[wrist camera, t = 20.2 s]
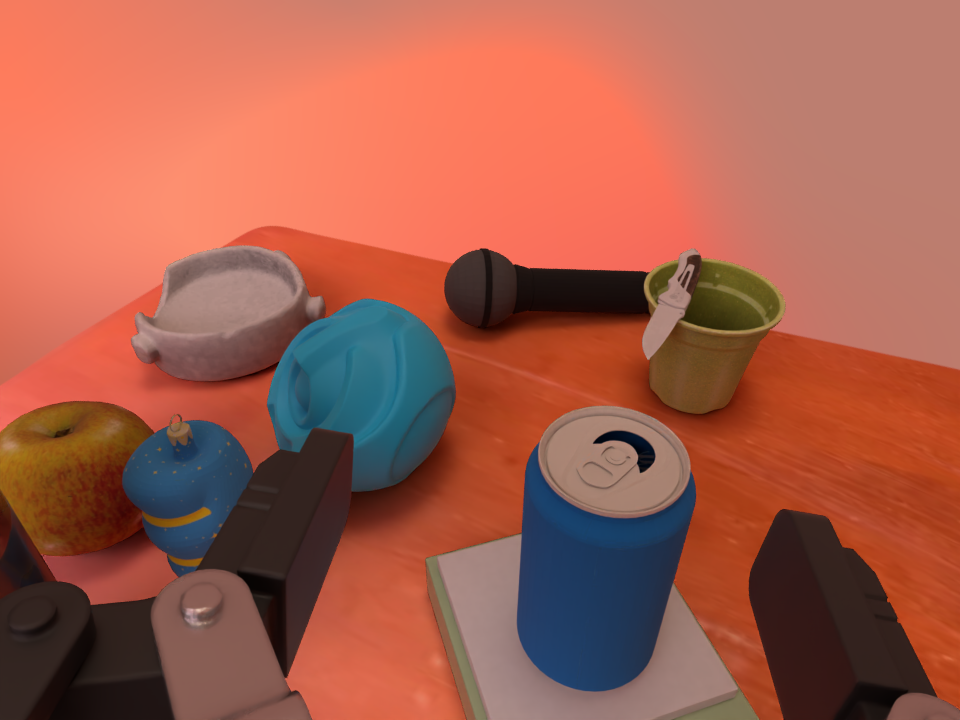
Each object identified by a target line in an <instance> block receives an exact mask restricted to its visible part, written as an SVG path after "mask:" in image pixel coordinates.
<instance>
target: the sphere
mask: <svg viewBox="0 0 960 720" xmlns="http://www.w3.org/2000/svg"><path fill="white" fill-rule="evenodd" d="M455 398H456V388H455V381H454V376H453V371H452V368H451V365H450V362H449V359H448V357H447V354H446V352H445V350H444V348H443V346H442V345H441V343H440V341H439V340H438V338H437V337H436V336H435V334H434V333H433V332H432V331H431V330H430V329H429V328H428V326H427V325H426V324H425V323H423V322H422V321H421V320H420V319H419V318H417V317H416V316H415V315H413V314H412V313H410V312H409V311H407V310H405V309H403V308H401V307H399V306H396V305H394V304H391V303H388V302H385V301H380V300H374V299H361V300H358V301H356V302H353V303H351V304H349V305H347V306H345V307H343V308H342V309H340V310H339V311H337V312H335V313H334V314H333V315H331V316H330V317H328V318H323V319H319V320H317V321H315V322H313V323H311V324H310V325H308V326H307V327H305V328H304V329H303V330H301V331H300V332H299V333H298V334H297V335H296V337H295V338H294V339H293V340H292V342H291V343H290V345H289V346H288V348H287V349H286V351H285V352H284V354H283V356H282V358H281V360H280V362H279V364H278V366H277V368H276V371H275V374H274V376H273V379H272V383H271V387H270V391H269V395H268V401H267V407H268V411H269V414H270V417H271V420H272V423H273V427H274V431H275V435H276V439H277V443H278V446H279V449H281V450H287V451H293V452H300V450H301V448H302V446H303V444H304V443H305V441H306V439H307V437H308V435H309V433H310V431H311V430H312V429H313V428H321V429H327V430H332V431H338V432H344V433H350V434H353V437H354V449H353V469H352V489H351V491H353V492H363V491H373V490H378V489H383V488H386V487H390V486H393V485H395V484H398V483H399V482H401V481H403V480H404V479H405V478H407V477H408V476H409V475H410V474H411V473H412V472H413V471H414V470H415V469H416V468H417V467H418V466H419V465H420V464H421V463H422V462H423V461H424V460H425V459H426V458H427V457H428V456H429V455H430V453H431V452H432V451H433V449H434V448H435V447H436V445H437V443H438V442H439V440H440V438H441V436H442V434H443V432H444V430H445V428H446V425H447V422H448V419H449V417H450V415H451V412H452V409H453V406H454V403H455Z"/></svg>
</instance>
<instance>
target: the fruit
mask: <svg viewBox="0 0 960 720" xmlns="http://www.w3.org/2000/svg"><path fill="white" fill-rule="evenodd" d="M153 434H154V432H153V430H152V429H151V428H150V427H149V426H148V425H147V424H146V423H145V422H144V421H143V420H142V419H141V418H139V417H138V416H137V415H136V414H134V413H132V412H131V411H129V410H127V409H125V408H123V407H120V406H117V405H114V404H109V403H104V402H90V401H71V402H63V403H58V404H53V405H48V406H45V407H41V408H38V409H35V410H33V411H31V412H29V413H26V414H24V415H22V416H20V417H19V418H17V419H16V420H14V421H13V422H11V423H10V424H9V425H8V426H7V427H6V428H4V429H3V430H2V431H1V432H0V489H1V491H2V493H3V494H4V496H5V497H6V499H7V500H8V502H9V504H10V505H11V507H12V509H13V510H14V512H15V513H16V515H17V517H18V518H19V520H20V522H21V523H22V525H23V527H24V528H25V530H26V531H27V533H28V535H29V536H30V538H31V540H32V541H33V543H34V545H35V546H36V548H37V549H38V551H39V553H40V554H43V555H51V556H71V555H78V554H84V553H89V552H95V551H98V550H102V549H105V548H107V547H110V546H112V545H114V544H116V543H118V542H120V541H122V540H124V539H126V538H128V537H130V536H132V535H133V534H135V533H136V532H137V531H139V530H140V529H142V528H143V527H144V526H143V523H142V510H140V509H139V508H138V507H137V506H135V505H134V504H133V503H132V502H131V500H130V499H129V498H128V497H127V495H126V493H125V491H124V489H123V485H122V477H123V471H124V468H125V466H126V464H127V462H128V460H129V459H130V457H131V455H132V454H133V453H134V452H135V450H136V449H137V448H138V447H139V446H140V445H141V444H142V443H143V442H144V441H145V440H146V439H148V438H149V437H150V436H151V435H153Z"/></svg>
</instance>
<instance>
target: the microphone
mask: <svg viewBox="0 0 960 720" xmlns="http://www.w3.org/2000/svg"><path fill="white" fill-rule="evenodd" d="M649 273H650V272H647V273H646V272H643V271H610V270H609V271H608V270H576V269H542V268H530V269H529V268H526V267H523V266H519V265H516V264H515V265H513V264H512V263H511V262H510V261H509V260H508V259H507V258H506V257H504V256H503V255H501V254H499V253H497V252H494V251H491V250H488V249H480V250H475V251H471V252H468V253H466V254H464V255H463V256H461V257H460V258H459V259H457V260H456V261H455V262H454V263H453V265H452V266H451V267H450V269H449V271H448V273H447V276H446V279H445V287H444V291H445V297H446V301H447V303H448V305H449V307H450V309H451V310H452V312H453V313H454V314H455V315H456V316H457V317H458V318H459V319H460V320H462V321H464V322H465V323H467V324H470V325H473V326H478V328H486V327H487V326H492V325H496V324H498V323H500V322H502V321H504V320H505V319H506V318H508V317H509V316H510V315H511V314H516V313H521V312H525V311H552V312H601V313H644V312H645V313H650V312H649V302H648V301H647V299H646V296H645V293H644V282H645V279H646V277H647V275H648V274H649Z"/></svg>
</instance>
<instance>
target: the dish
mask: <svg viewBox="0 0 960 720" xmlns="http://www.w3.org/2000/svg"><path fill="white" fill-rule="evenodd" d="M325 314H326V307H325V302H324V299H323V297H322V296H317V297H310V295H309V292H308V290H307V287H306V284H305V282H304V279H303V277H302V274H301V272H300V270H299V268H298V267H297V266H296V265H295V264H294V263H293V262H292V261H291V259H290V257H289V256H288V255H287V254H285V253H284V252H282V251H279V250H277V251H271V250H269V249H266V248H262V247H257V246H229V247H223V248H216V249H212V250H207V251H203V252H199V253H196V254H192V255H190V256H188V257H185V258H183V259H181V260H178V261H175V262H173V263H171V264H170V265H168V267H166V270H165V274H164V279H163V290H162V295H161V297H160V302H159V305H158V308H157V311H156V313H155V315H154V316H153V318H150V317H147V316H145V315H144V314H143V313H141V312H139V313H137V314H136V315H135V325H136V328H137V332H138V334H136V335H134V336H133V337H132V338H131V343H132V346H133V348H134V350H135V353H136V355H137V357H138V358H139V359H140V360H141V361H142V362H144V363H147V364H151V363H153V362H155V364H156V365H157V366H158V367H159V368H160V369H161V370H162V371H164V372H166V373H167V374H169V375H171V376H174V377H177V378H181V379H185V380H192V381H220V380H227V379H232V378H237V377H241V376H244V375H248V374H251V373H254V372H257V371H260V370H262V369H265V368H267V367H269V366H271V365H273V364H275V363H277V362H279V361H280V360H281V358H282V356H283V354H284V352H285V351H286V349H287V348H288V346H289V345H290V343H291V342H292V340H293V339H294V338H295V337H296V335H297V334H298V333H299V332H300V331H301V330H303V329H304V328H305V327H307V326H308V325H310V324H311V323H313V322H315V321H317V320H319V319H323V318H324V316H325Z"/></svg>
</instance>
